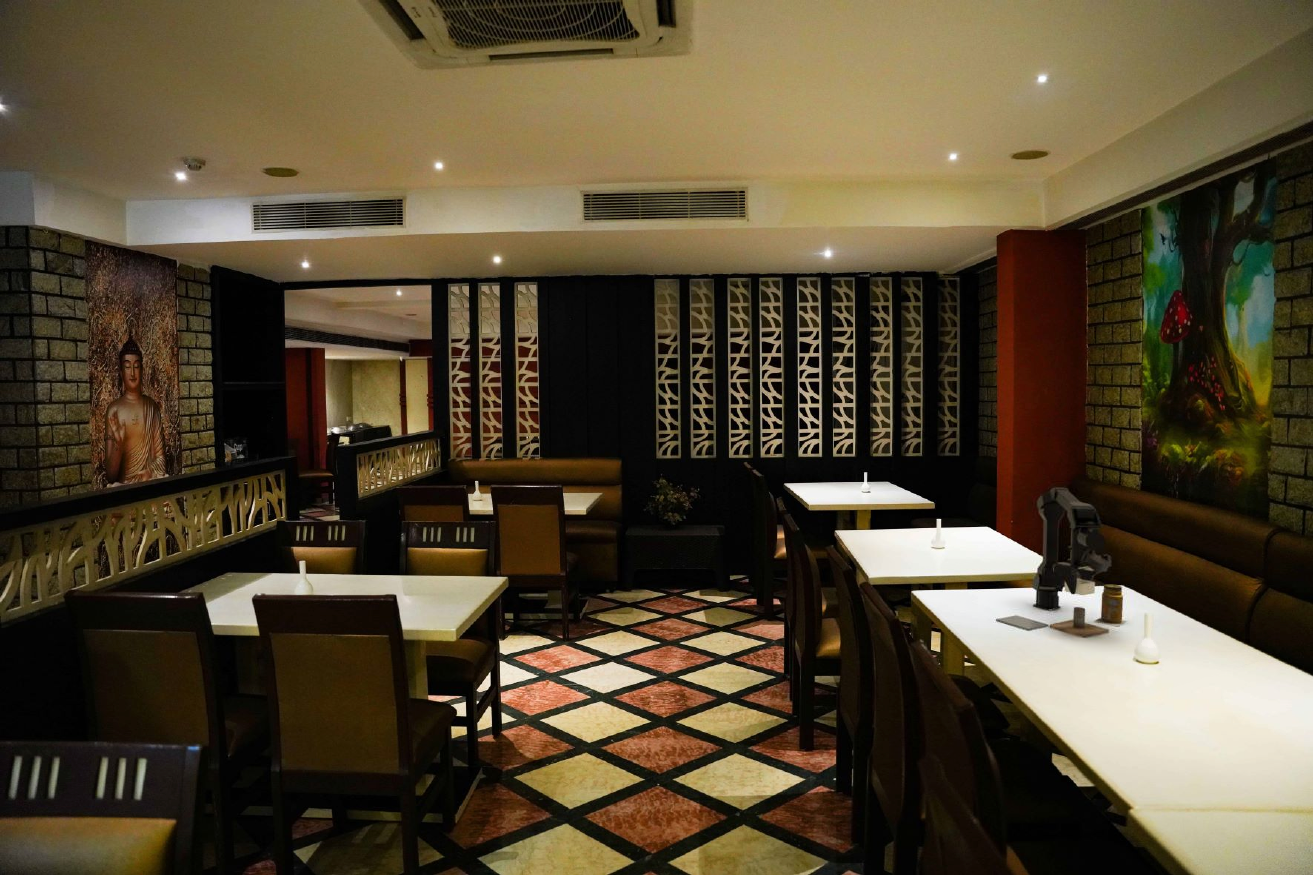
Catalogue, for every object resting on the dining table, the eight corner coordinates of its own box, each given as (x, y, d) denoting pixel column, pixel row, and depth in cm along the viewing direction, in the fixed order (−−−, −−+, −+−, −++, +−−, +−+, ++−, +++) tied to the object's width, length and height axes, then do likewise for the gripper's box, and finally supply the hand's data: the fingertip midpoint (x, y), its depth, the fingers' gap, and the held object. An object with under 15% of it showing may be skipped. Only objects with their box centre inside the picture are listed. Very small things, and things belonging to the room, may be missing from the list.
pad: (996, 620, 260) (996, 619, 260) (1016, 616, 265) (1016, 615, 265) (1028, 630, 250) (1028, 628, 250) (1048, 626, 254) (1048, 624, 254)
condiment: (1126, 621, 260) (1127, 585, 259) (1118, 626, 254) (1119, 590, 254) (1102, 616, 265) (1103, 581, 265) (1093, 622, 260) (1094, 586, 259)
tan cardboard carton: (1064, 591, 251) (1065, 580, 251) (1076, 588, 254) (1077, 578, 254) (1082, 595, 246) (1082, 584, 246) (1094, 593, 249) (1094, 582, 248)
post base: (1049, 627, 253) (1050, 606, 253) (1072, 622, 259) (1073, 601, 258) (1084, 637, 242) (1085, 615, 242) (1108, 632, 248) (1109, 610, 248)
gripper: (1086, 551, 238) (1084, 602, 238) (1124, 546, 246) (1122, 595, 247) (1052, 545, 247) (1051, 594, 248) (1090, 540, 256) (1088, 587, 257)
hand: (1079, 592), depth 250 cm, fingers closed on tan cardboard carton, 6 cm apart
